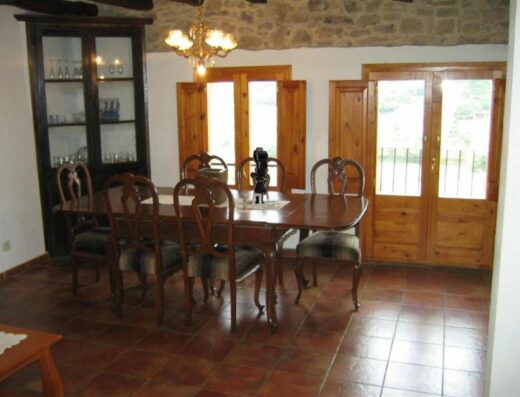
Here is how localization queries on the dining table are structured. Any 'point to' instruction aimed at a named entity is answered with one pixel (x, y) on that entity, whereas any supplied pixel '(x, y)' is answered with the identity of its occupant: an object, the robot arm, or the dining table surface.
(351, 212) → the dining table surface
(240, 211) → the birch stand
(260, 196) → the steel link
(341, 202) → the dining table surface
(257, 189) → the robot arm
